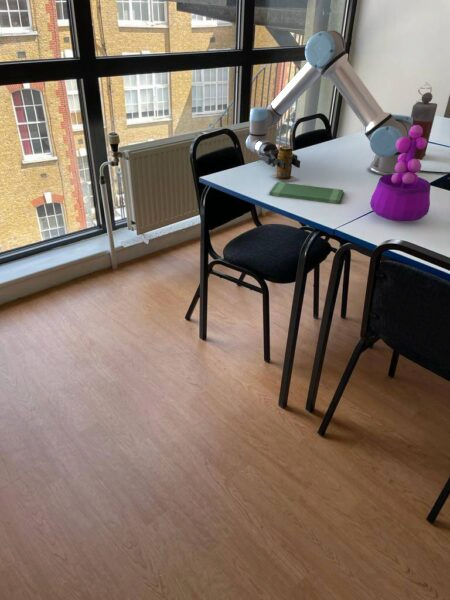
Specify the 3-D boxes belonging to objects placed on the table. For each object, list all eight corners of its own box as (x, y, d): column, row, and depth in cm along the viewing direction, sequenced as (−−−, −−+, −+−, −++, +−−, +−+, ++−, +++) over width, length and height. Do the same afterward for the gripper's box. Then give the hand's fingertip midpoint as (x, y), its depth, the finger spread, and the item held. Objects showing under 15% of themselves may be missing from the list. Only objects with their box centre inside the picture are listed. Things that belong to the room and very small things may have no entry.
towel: (343, 192, 176) (343, 189, 175) (339, 203, 166) (339, 200, 165) (277, 184, 183) (277, 181, 182) (269, 194, 173) (269, 191, 172)
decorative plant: (364, 223, 152) (382, 128, 135) (370, 204, 166) (387, 116, 150) (425, 232, 146) (451, 134, 130) (426, 211, 161) (449, 121, 144)
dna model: (419, 149, 228) (435, 83, 212) (406, 148, 230) (420, 83, 213) (417, 146, 234) (432, 81, 218) (404, 145, 235) (418, 81, 219)
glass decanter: (426, 154, 222) (441, 91, 206) (421, 160, 214) (436, 95, 198) (407, 151, 226) (420, 89, 210) (401, 157, 217) (415, 93, 202)
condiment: (286, 173, 194) (288, 144, 187) (297, 179, 187) (300, 149, 181) (271, 175, 191) (273, 146, 185) (282, 181, 185) (284, 151, 178)
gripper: (285, 157, 205) (311, 172, 187) (246, 161, 199) (269, 177, 181) (286, 139, 201) (313, 153, 183) (246, 143, 195) (270, 158, 177)
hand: (291, 165), depth 182 cm, fingers closed on condiment, 6 cm apart
